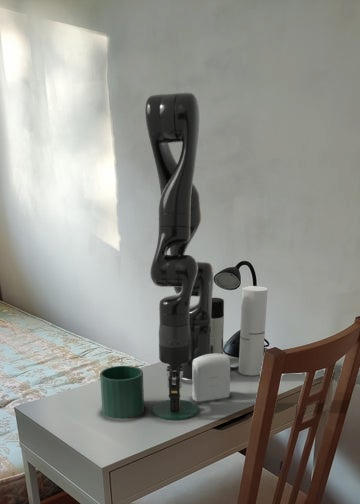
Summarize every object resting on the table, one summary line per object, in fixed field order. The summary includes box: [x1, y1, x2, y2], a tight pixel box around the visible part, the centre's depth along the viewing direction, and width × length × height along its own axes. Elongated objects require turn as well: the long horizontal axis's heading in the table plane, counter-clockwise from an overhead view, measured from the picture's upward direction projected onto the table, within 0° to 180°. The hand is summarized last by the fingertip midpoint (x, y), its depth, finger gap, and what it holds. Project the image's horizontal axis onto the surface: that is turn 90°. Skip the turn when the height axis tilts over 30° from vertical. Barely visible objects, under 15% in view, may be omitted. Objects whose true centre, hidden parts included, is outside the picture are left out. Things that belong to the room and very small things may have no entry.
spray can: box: [211, 297, 225, 354], centre depth 165 cm, size 7×7×20 cm
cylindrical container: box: [238, 285, 268, 376], centre depth 156 cm, size 7×7×25 cm
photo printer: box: [191, 353, 231, 402], centre depth 139 cm, size 10×4×12 cm, turn 109°
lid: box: [152, 391, 199, 421], centre depth 132 cm, size 11×11×6 cm
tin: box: [99, 365, 145, 420], centre depth 132 cm, size 10×10×10 cm
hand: (175, 406), depth 132 cm, fingers open, 5 cm apart
